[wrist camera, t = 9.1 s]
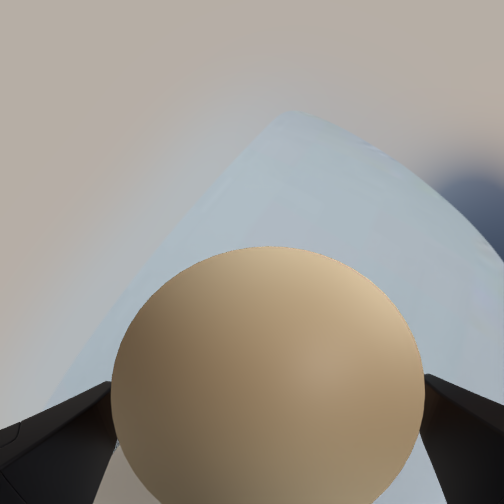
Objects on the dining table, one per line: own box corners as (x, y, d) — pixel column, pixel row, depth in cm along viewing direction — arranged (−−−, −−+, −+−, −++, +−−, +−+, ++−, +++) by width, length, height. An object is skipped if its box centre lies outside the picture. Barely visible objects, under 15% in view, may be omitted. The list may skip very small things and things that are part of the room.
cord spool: (320, 477, 13) (445, 566, 2) (196, 463, 13) (39, 512, 2) (333, 365, 16) (447, 223, 5) (216, 352, 17) (129, 194, 6)
